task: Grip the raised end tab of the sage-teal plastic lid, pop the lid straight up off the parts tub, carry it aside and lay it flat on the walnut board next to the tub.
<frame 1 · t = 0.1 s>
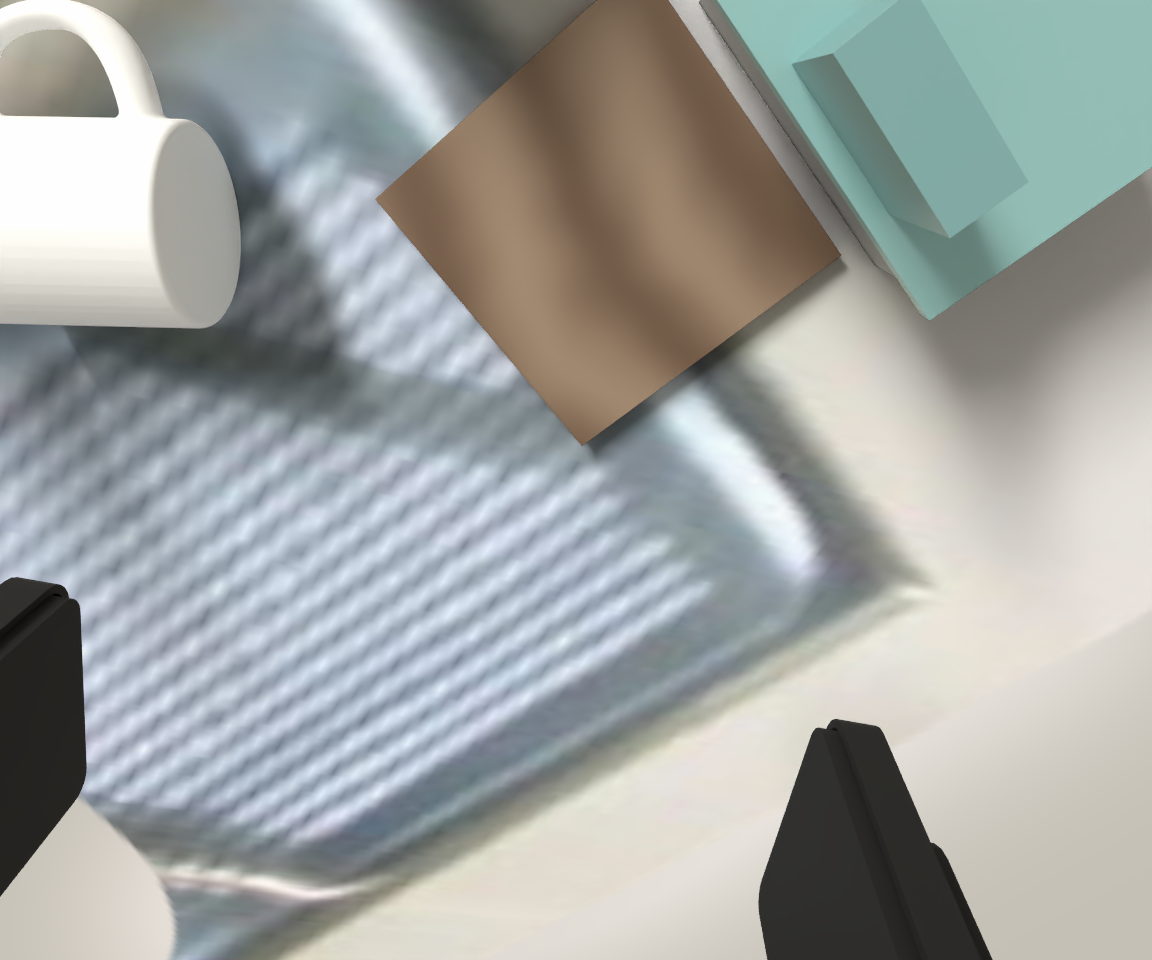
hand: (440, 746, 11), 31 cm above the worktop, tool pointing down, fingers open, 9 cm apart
board: (608, 224, 39), on the worktop
tub: (907, 47, 36), on the worktop
lid: (971, 34, 29), point 7 cm above the worktop, touching tub
mug: (123, 165, 39), on the worktop
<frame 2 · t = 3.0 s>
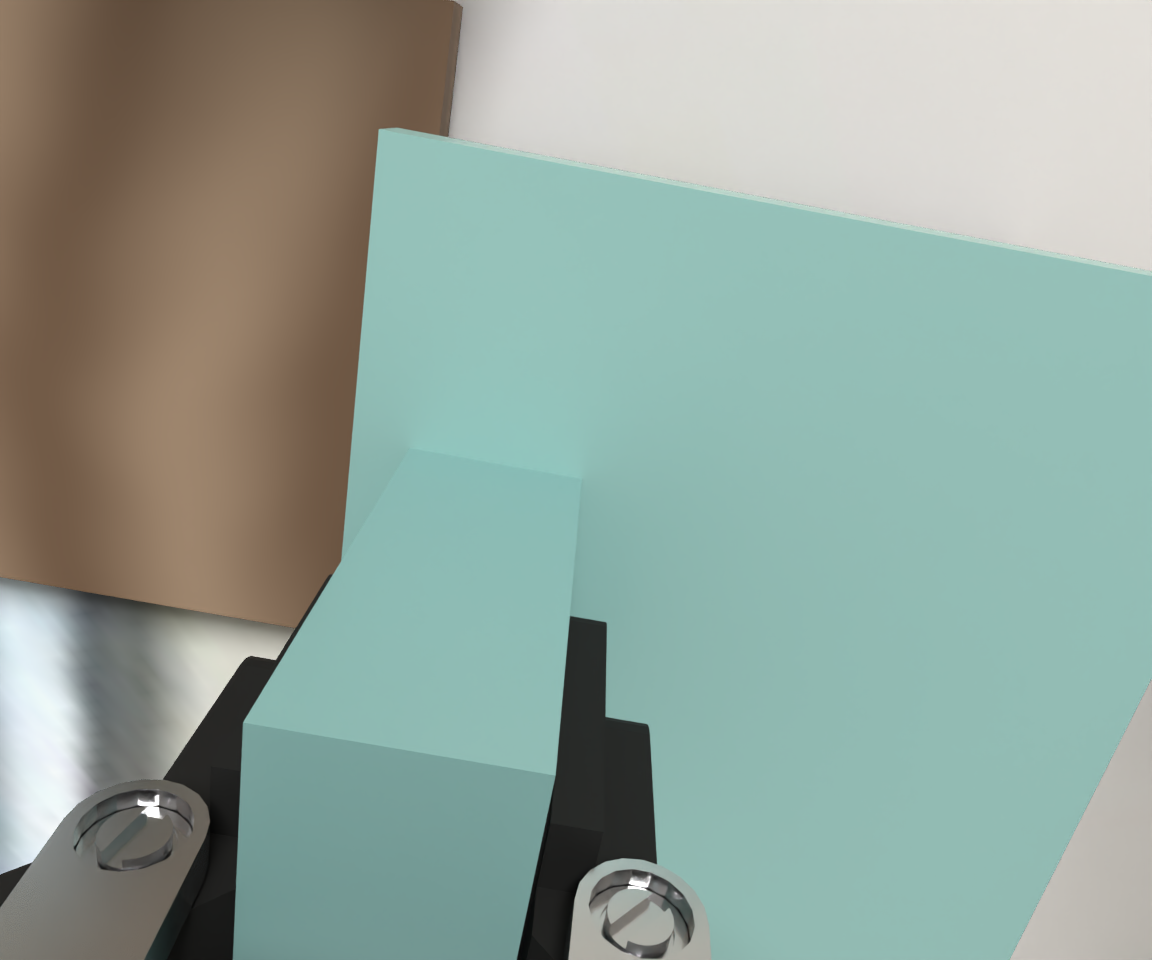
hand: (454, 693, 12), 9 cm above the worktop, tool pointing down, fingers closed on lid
board: (108, 297, 20), on the worktop
lid: (721, 654, 15), point 7 cm above the worktop, touching gripper, tub
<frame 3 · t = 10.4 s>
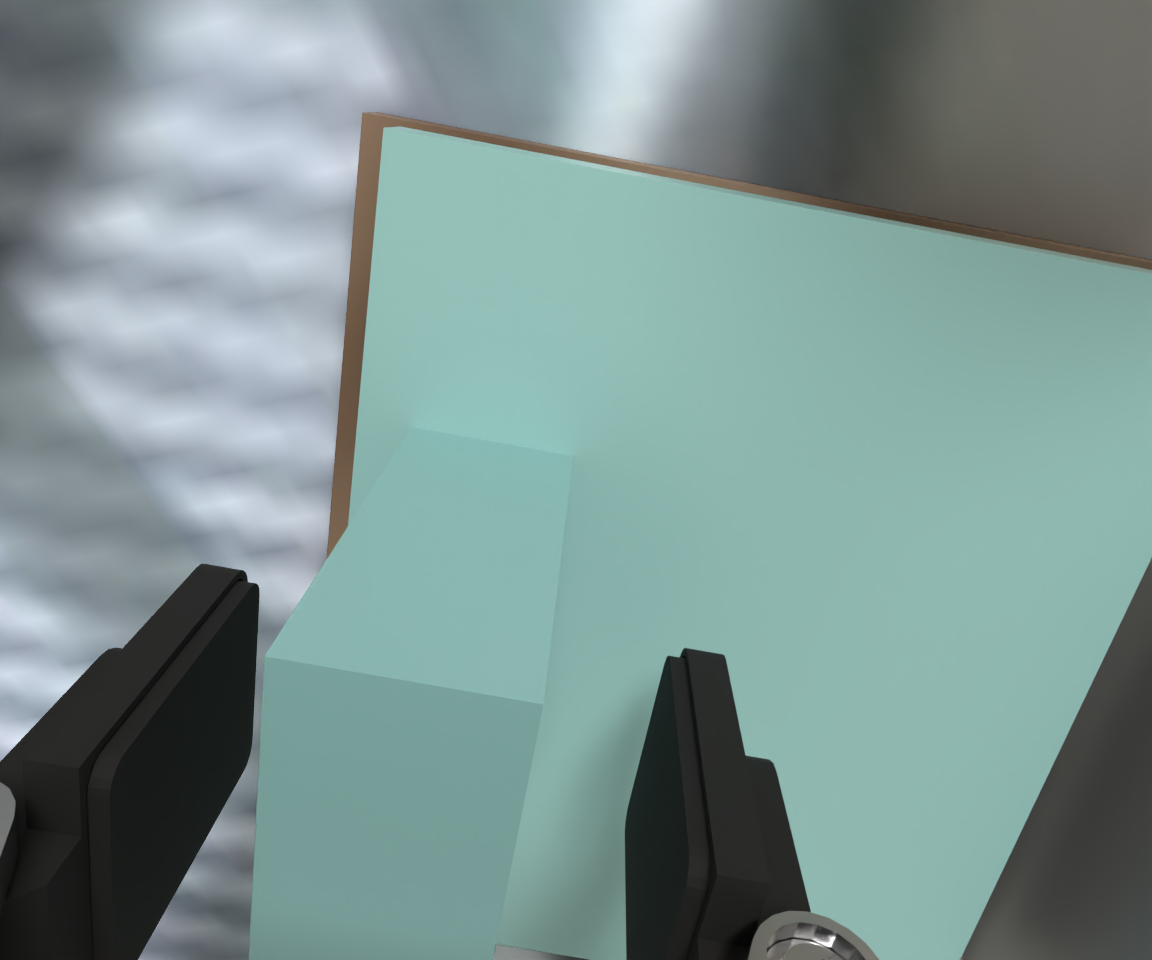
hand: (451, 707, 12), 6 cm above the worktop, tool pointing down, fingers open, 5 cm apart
board: (703, 565, 17), on the worktop
lid: (706, 625, 15), point 2 cm above the worktop, touching board
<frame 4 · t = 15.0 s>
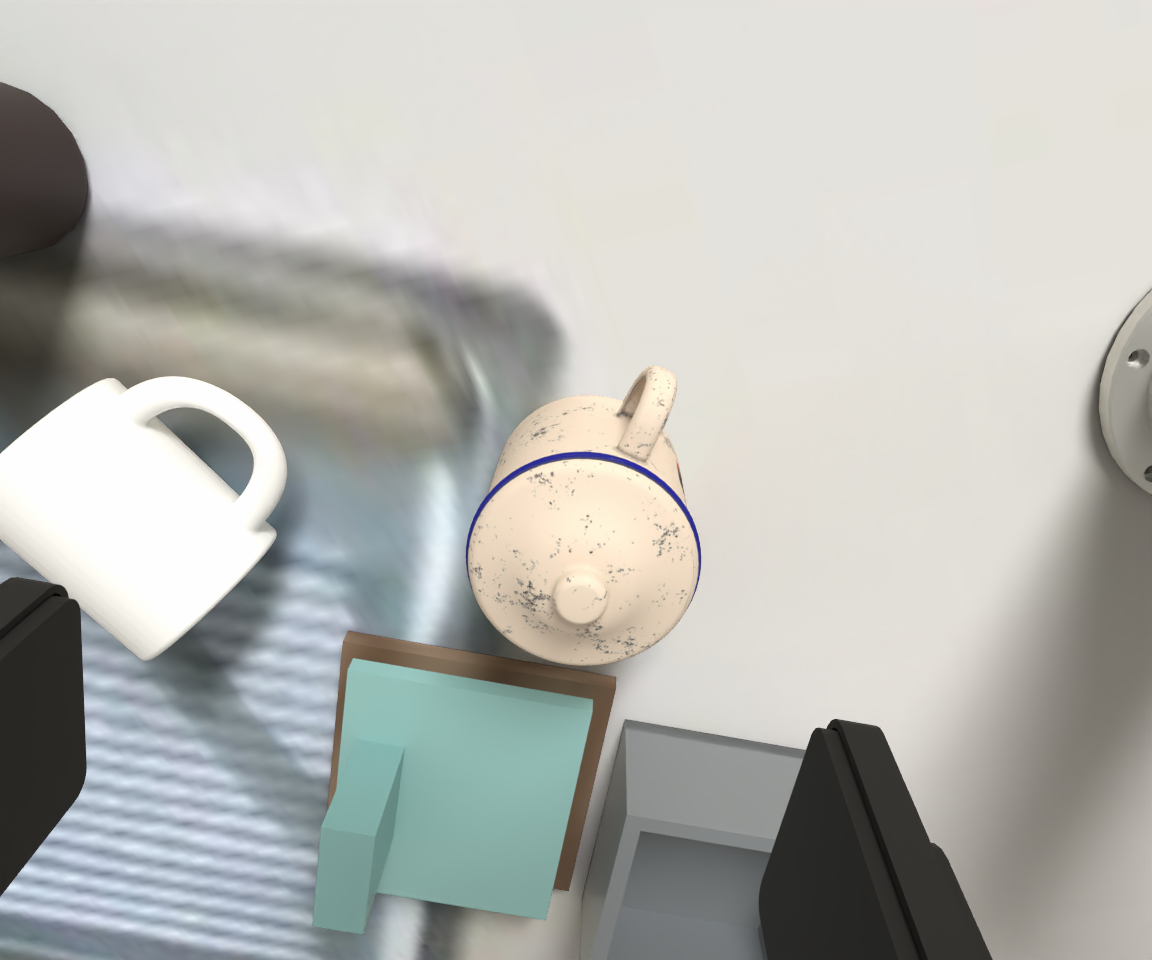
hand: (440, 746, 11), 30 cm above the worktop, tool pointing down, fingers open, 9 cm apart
board: (465, 761, 49), on the worktop
tub: (699, 829, 50), on the worktop
lid: (455, 789, 47), point 2 cm above the worktop, touching board
mug: (198, 459, 43), on the worktop
teacup with lid: (602, 452, 42), on the worktop
bottle: (15, 167, 39), on the worktop
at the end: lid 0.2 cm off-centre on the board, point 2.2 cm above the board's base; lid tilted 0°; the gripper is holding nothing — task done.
